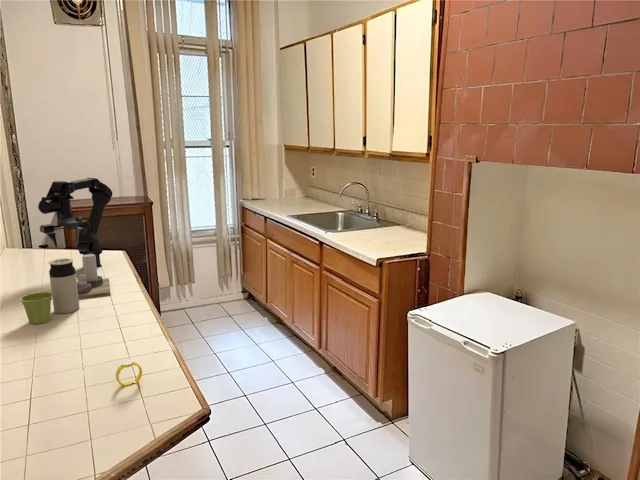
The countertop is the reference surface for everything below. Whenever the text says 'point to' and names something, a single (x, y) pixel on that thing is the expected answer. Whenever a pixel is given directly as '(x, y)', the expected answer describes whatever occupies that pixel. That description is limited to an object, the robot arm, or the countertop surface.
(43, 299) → the plant pot
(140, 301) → the countertop surface
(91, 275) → the beverage can
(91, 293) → the pin board
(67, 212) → the robot arm
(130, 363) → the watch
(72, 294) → the travel mug
